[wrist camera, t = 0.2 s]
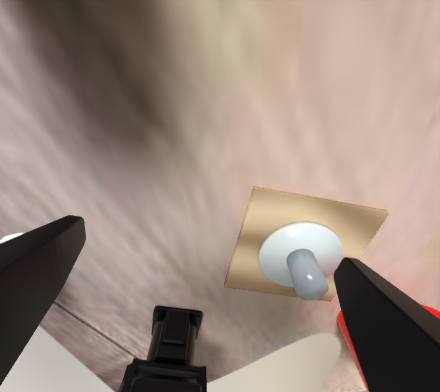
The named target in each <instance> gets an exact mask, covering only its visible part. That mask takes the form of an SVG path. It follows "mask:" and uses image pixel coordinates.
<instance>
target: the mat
mask: <svg viewBox="0 0 440 392" xmlns="http://www.w3.org/2000/svg"><path fill="white" fill-rule="evenodd" d="M388 214H389V212H388V211H386V210H381V209H376V208H370V207H365V206H359V205H354V204H348V203H342V202H337V201H331V200H326V199H320V198H315V197H309V196H303V195H298V194H292V193H287V192H281V191H276V190H270V189H264V188H259V187H254V188H253V191H252V194H251V197H250V201H249V204H248V207H247V211H246V214H245V217H244V220H243V224H242V227H241V230H240V234H239V237H238V240H237V243H236V247H235V250H234V253H233V257H232V260H231V263H230V266H229V270H228V273H227V276H226V280H225V283H224V287H228V288H235V289H242V290H249V291H257V292H264V293H271V294H279V295H286V296H293V297H299V296H298V295H297V293H296V290H295V287H287V286H282V285H279V284H276V283H274V282H272V281H270V280H269V279H267V278H266V277H265V276H264V274H263V273H262V271H261V269H260V266H259V261H258V251H259V248H260V246H261V244H262V242H263V241H264V239H265V238H266V237H267V236H268V235H269V234H270V233H271V232H273V231H274V230H276V229H278V228H279V227H281V226H284V225H286V224H290V223H294V222H300V221H310V222H316V223H320V224H323V225H325V226H327V227H329V228H330V229H331V230H333V232H334V233H335V234H336V235H337V237H338V238H339V240H340V241H341V244H342V247H343V256H342V259H343V258H344V257H351V258H356V259H358V260H359V258H360V257H361V255H362V254H363V252H364V251H365V249H366V248H367V246H368V245H369V243H370V242H371V240H372V239H373V237H374V236H375V234H376V233H377V231H378V230H379V228H380V226H381V225H382V223H383V222H384V220H385V219H386V217H387V216H388ZM336 269H337V268H336ZM334 272H335V271H334ZM334 272H333V273H332V274H330V275H329V276H328V277H326V278H325V279H326V282H327V284H328V286H329V289H328V292H327V293H326V294H325V295H324V296H323V297H321V298H319V299H315V300H323V301H330V302H331V300H332V299H333V297H334V296H335V294H336V293H337V291H336V287H335V283H334Z"/></svg>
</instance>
